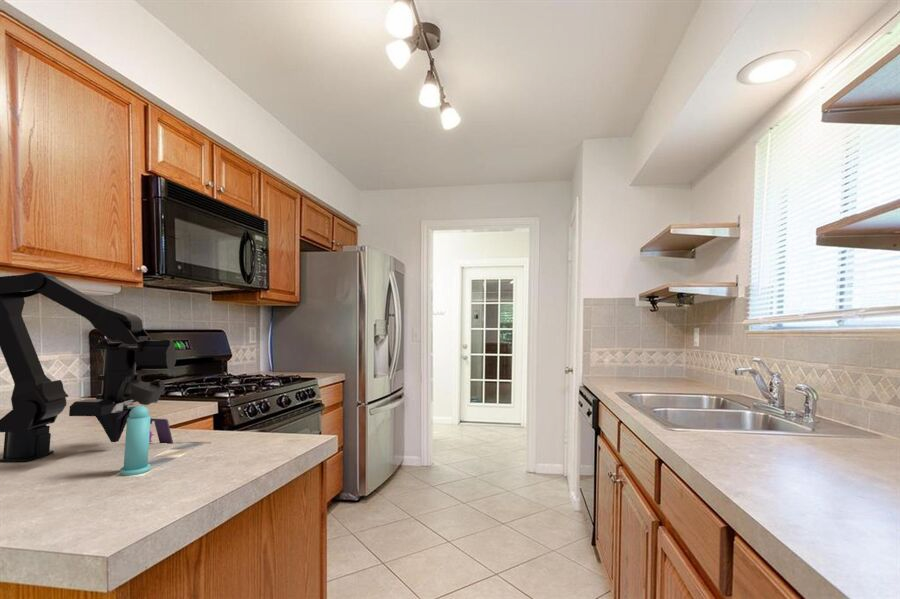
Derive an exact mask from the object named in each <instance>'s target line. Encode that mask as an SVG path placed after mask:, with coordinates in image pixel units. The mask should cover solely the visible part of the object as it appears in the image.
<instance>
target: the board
mask: <svg viewBox="0 0 900 599" xmlns="http://www.w3.org/2000/svg"><path fill="white" fill-rule="evenodd" d="M173 444H175V446H174V447H171V448H170V449H166V450H165V451H163V452H161V453H159V454H156V455H154V456H153V457H150V458H148V464H150V465H151V467H150V471H148V472H146V473H143V474H139V475H132V476H122V475H120V471H119V472H117V473H115V474H113V475H111V476H110V478H111V477H112V478H114V477H115V478H120V477H121V478H125V477H127V478H130V477H131V478H133V477H134V478H136V477H137V478H138V477H139V478H140V477H142V476H145V475H146V474H148V473H150V472H152V471H155V470H156V469H159V467H162V466H164V465H166V464H168V463H170V462H172V461H174V460H176V459H177V458H179V457H182V456H183V455H185V454H188V453H190V452H192V451H193V450H195V449H197V448H199V447H202V446H203V445H207V444H208V445H210V444H212V442H211V441H176V442H173ZM173 444H172V445H173ZM176 444H177V445H176Z"/></svg>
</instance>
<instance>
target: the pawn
mask: <svg viewBox="0 0 900 599" xmlns="http://www.w3.org/2000/svg"><path fill="white" fill-rule="evenodd" d="M150 419H151V415H150V411H149V408H148V407H146V405H137V406H136V405H135V407H134V408H133V409H132V410H131V411H130V414H129V417H128V418H127V423H126V425H125V428H126V430H125V443H124V444H125V445H124V459H123V467H121V468H120V469H119V472H120V475H122V476H132V475H139V474H143V473H146V472H148V471H150V467H152V466H151V465H150V464H148V459H149V449H150V448H149V446H150V444H149V434H150V430H151V429H150V428H151V424H150ZM150 472H151V471H150Z"/></svg>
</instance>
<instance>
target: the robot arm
mask: <svg viewBox="0 0 900 599" xmlns="http://www.w3.org/2000/svg"><path fill="white" fill-rule="evenodd" d="M37 295H42V296H43V297H46V298H48V299H50V300H51V301H53V302H55V303H57V304H58V305H60V306H62V307H65V308H66V309H68V310H70V311H71V312H73V313H76V314H77V315H79V316H81V317H83V318H84V319H86V321H88V322H89V323H91V325H92V327H93V328H94V329H96V330H97V331H98V332H99V333H101V335H103V336H104V337H106V338H102V339H101V341H99V342H98V343H97V344H96V345H93V347H92V350H98V351H99V350H102V351H103V350H104V358H103V369H102V370H103V372H102V374H101V375H100V374H99V375H97V381H102V384H101V393H100V394H96V395H95V398H88V399H83V400H77V401H74V402H73V403H72V404H71V405H70V406H69V408H68V409H69V411H68V417H95V418H96V419H97V420H98V422H99V423H100V425H101V427H102V429H103V430H104V432H105V434H106V436H107V437H108V439H109V441H110V442H111V443H117V442H119V440H120V439H121V437H122V434H123V432H124V430H125V428H126V426H127V418H128V417H129V414H130V411H131V410H132V409H133V408H134V407H136V404H135V403H138V404H139V405H142V406H147V405H148V406H149V405H150V404H153V403H154V404H157V403H158V402H159V399H160V396H161V395H162V396H163V395H165V394H166V391H165V389H166V388H165V381H164V380H161V379H154V380H152V381H151V382H150V381H143V380H142V375H141V373H136V369H137V367H138V368H139V369H140V370H142V371H144V370H145V371H150V370H151V371H153V370H154V371H155V370H160V371H161V370H162V371H163V370H167V371H168V370H169V371H170V370H173V368H175V365H176V364H177V363H176V362H177V357H178V353H177V351H176V347H175V346H174V339H162V340H153V338H152V337H151V336H150V335H149V333H148V332H147V331H146V330H145V328H144V326H143V320H142V318H140V316H138V315H136V314H133V313H130V312H127V311H124V310H121V309H118V308H115V307H110V306H108V305H105V304H103V303H101V302H100V301H98V300H96V299H94V298H92V297H91V296H89V295H86V294H85V293H83V292H81V291H80V290H78V289H76V288H74V287H72V286H71V285H68V283H65V282H64V281H61V280H59V279H58V278H57V276H54V275H53V274H51V273H49V274H48V273H45V272H39V271H37V272H36V271H34V272H31V273H25V274H24V273H23V274H17V275H16V274H15V275H5V276H3V275H1V276H0V351H1V352H2V355H3V358H4V361H5V364H6V366H7V369H8V371H9V374H10V375H11V376H10V377H11V379H12V381H13V384H14V385H13V389H12V393H11V398H10V401H11V407H12V408H11V409H12V410H10V411H9V412H8V413H7V414H5V415H4V416H3V417H1V418H0V433H4V440H3V441H4V442H3V449H2V450H3V454H2V456H1V457H0V462H30V461H33V460H35V459H36V460H37V459H38V458H42V457H45V456H47V455H50V454H53V453H55V450H54V449H53V450H51V449H50V448H51V438H52V437H51V435H52V434H51V433H50V429H51V428H50V424H54V423H55V422H56V420H57V418H58V416H59V415H60V414H61V413H62V412H63V411H64V409H65V408H66V406H67V398H69V394H67V393H66V391H65V389H64V384H63V381H62V379H57V380H51V379H50V378H49V377H48V376H46V373H45V371H44V368H43V366H42V364H41V362H40V359H39V356H38V354H37V353H38V352H37V351H36V348H35V346H34V344H33V342H32V341H33V340H32V338H31V336H30V334H29V331H28V328H27V326H26V323H25V321H24V319H23V314H22V313H23V310H24V306H25V299H27V298H32V297H35V296H37ZM112 340H115V341H112ZM117 340H118V341H117ZM130 345H137V346H130Z"/></svg>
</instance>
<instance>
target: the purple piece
mask: <svg viewBox="0 0 900 599" xmlns="http://www.w3.org/2000/svg"><path fill="white" fill-rule="evenodd" d="M153 422H154V427H155V430H156V433H157V437H158V441H159V442H158V443H167V444H166V445H173V443H174V440H173V437H172V432H171V428H170V424H169V420H168V418H151V419H150V425H152V424H153ZM153 436H155V433H153V431H152V429H150V434H149V442H153V440H152V437H153Z"/></svg>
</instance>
